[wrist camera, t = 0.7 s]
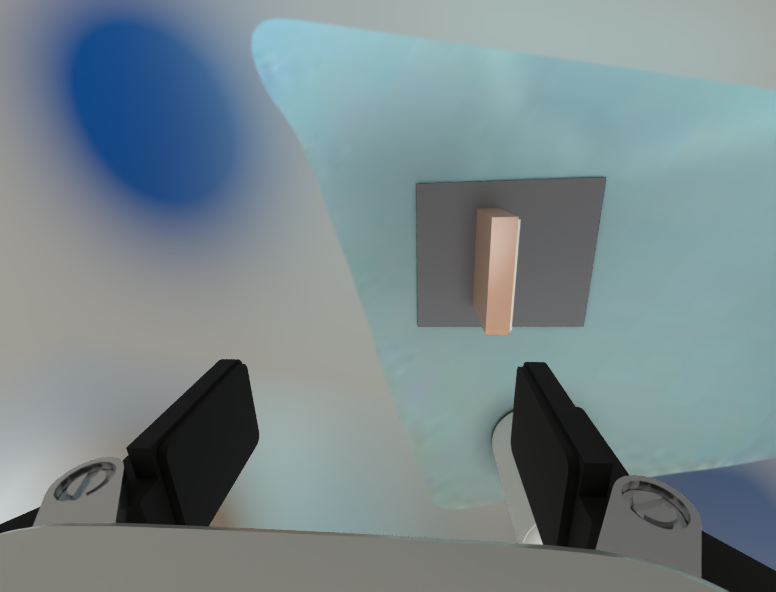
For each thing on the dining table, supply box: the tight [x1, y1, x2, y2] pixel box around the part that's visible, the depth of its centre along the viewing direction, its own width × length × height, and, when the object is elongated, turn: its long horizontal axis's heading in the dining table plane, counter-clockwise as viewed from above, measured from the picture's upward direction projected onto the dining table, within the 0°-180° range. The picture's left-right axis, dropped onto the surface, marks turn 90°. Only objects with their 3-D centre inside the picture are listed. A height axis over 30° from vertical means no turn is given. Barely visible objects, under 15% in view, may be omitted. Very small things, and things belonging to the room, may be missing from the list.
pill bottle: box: [492, 412, 543, 545], centre depth 28 cm, size 8×8×15 cm
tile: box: [473, 208, 521, 335], centre depth 26 cm, size 2×8×6 cm, turn 2°
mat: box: [416, 177, 606, 327], centre depth 29 cm, size 14×12×1 cm
